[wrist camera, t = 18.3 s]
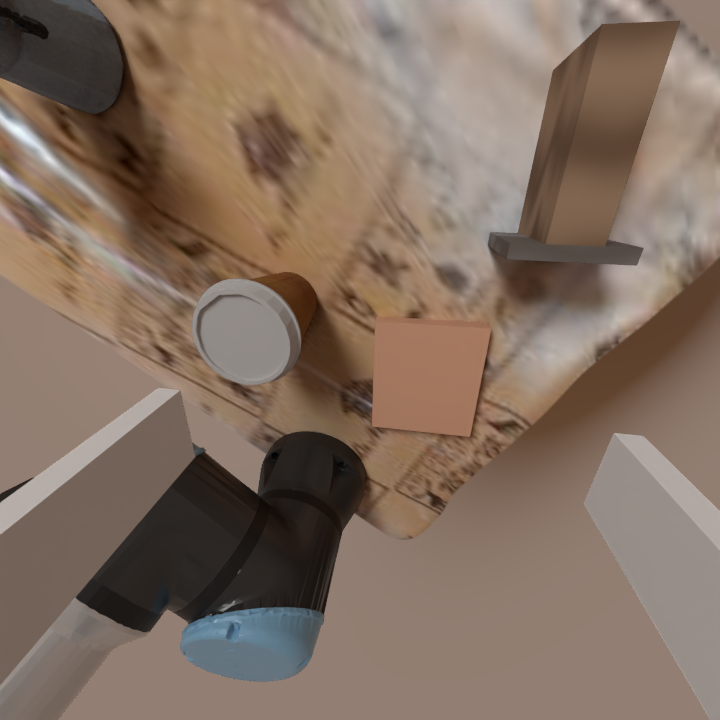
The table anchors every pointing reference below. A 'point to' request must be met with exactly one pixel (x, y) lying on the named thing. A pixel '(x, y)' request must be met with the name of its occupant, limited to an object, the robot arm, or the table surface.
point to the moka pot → (61, 52)
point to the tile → (427, 374)
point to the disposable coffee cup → (254, 326)
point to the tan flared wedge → (589, 146)
